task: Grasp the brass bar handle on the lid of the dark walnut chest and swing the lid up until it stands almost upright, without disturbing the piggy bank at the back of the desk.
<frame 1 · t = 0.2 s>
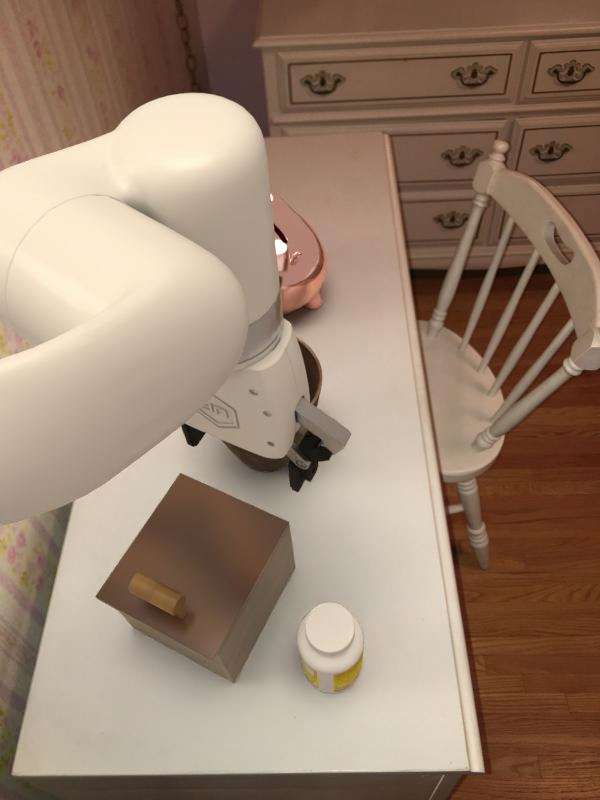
hand: (250, 454, 53), 29 cm above the table, tool pointing down, fingers open, 9 cm apart
flower pot: (269, 449, 87), on the table
chest: (215, 596, 76), on the table
chess piece: (167, 393, 94), on the table
supplement bottle: (331, 662, 71), on the table
lid: (191, 550, 64), point 15 cm above the table, hinge at 0.0°
piggy bank: (275, 295, 104), on the table
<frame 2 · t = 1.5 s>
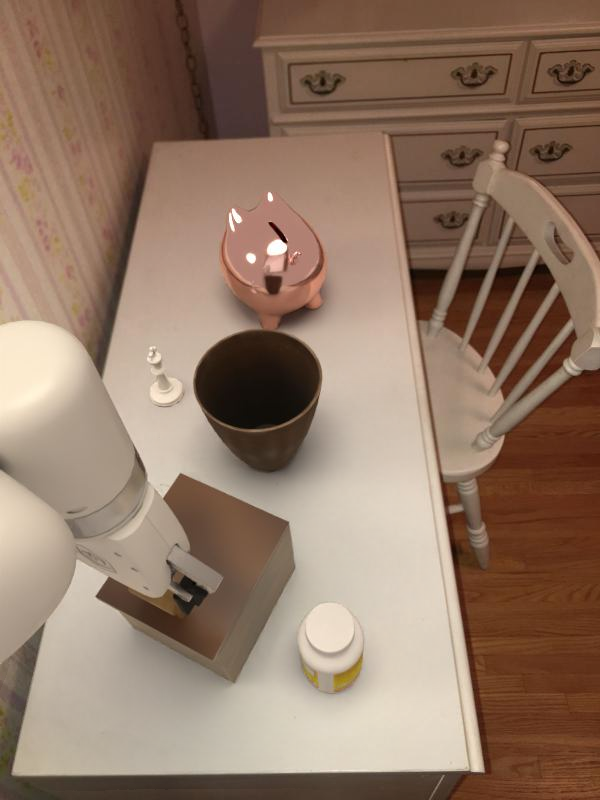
hand: (148, 573, 56), 21 cm above the table, tool pointing down, fingers open, 9 cm apart
nothing on the table moved.
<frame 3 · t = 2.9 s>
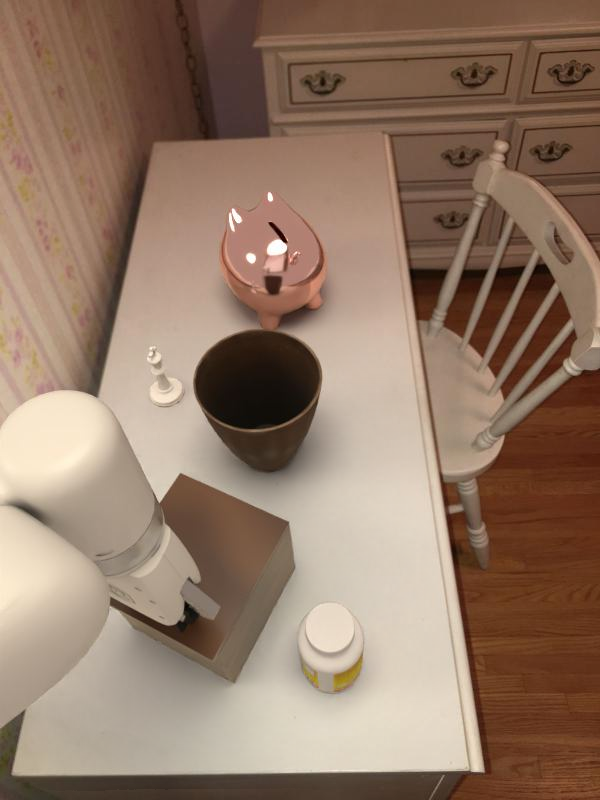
hand: (163, 602, 62), 14 cm above the table, tool pointing down, fingers closed on lid, 5 cm apart
lid: (191, 550, 64), point 15 cm above the table, hinge at 0.0°, touching gripper
everything else where it was.
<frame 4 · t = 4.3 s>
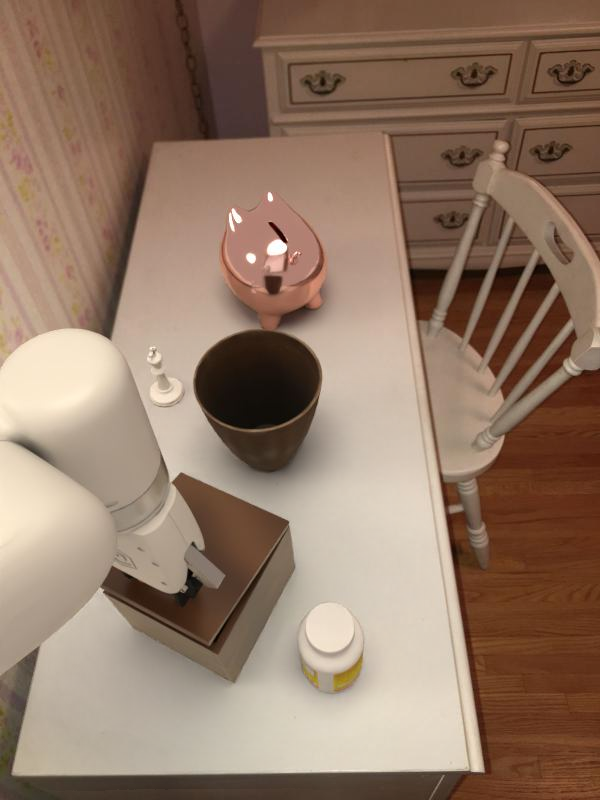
hand: (163, 577, 60), 17 cm above the table, tool pointing down, fingers closed on lid, 5 cm apart
lid: (192, 535, 62), point 16 cm above the table, hinge at 15.2°, touching gripper
everything else where it was.
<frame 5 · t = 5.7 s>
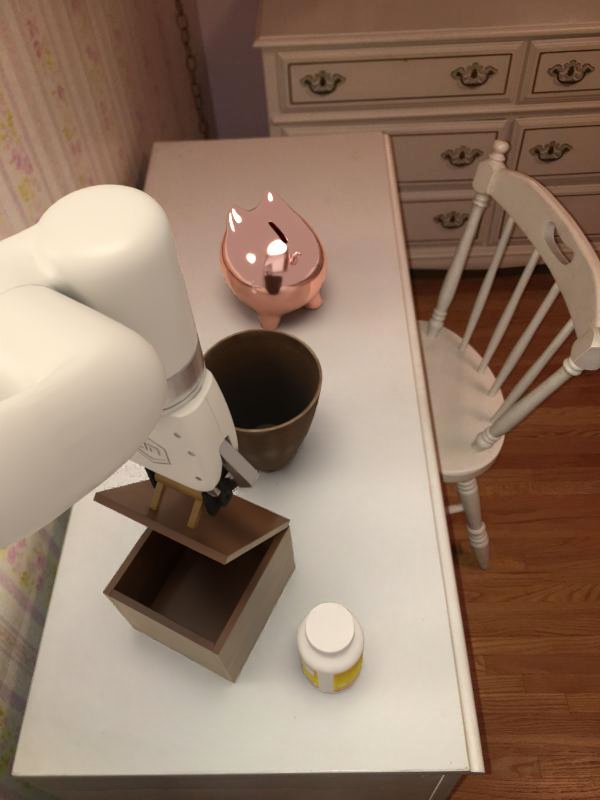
hand: (192, 488, 59), 22 cm above the table, tool pointing down, fingers closed on lid, 5 cm apart
lid: (207, 489, 62), point 20 cm above the table, hinge at 50.5°, touching gripper
everything else where it was.
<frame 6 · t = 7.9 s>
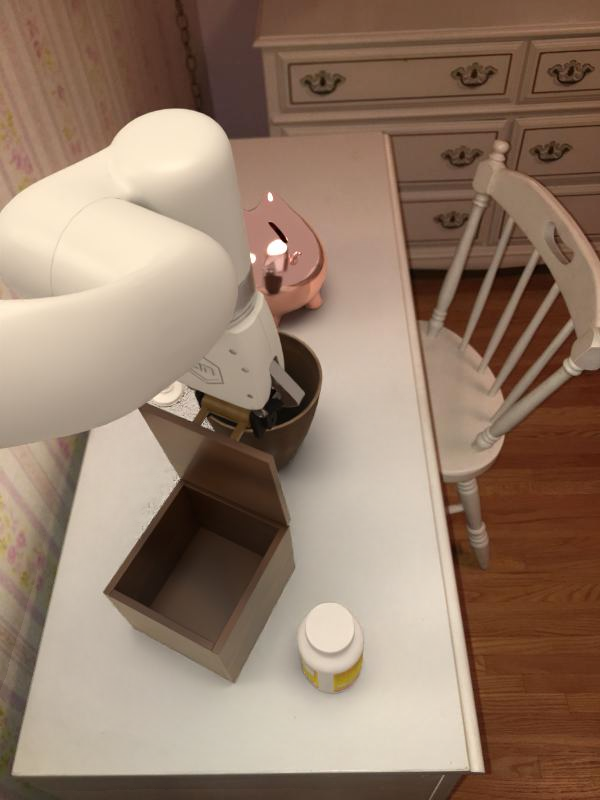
hand: (239, 414, 62), 23 cm above the table, tool pointing down, fingers closed on lid, 5 cm apart
lid: (231, 448, 64), point 20 cm above the table, hinge at 84.6°, touching gripper
everything else where it was.
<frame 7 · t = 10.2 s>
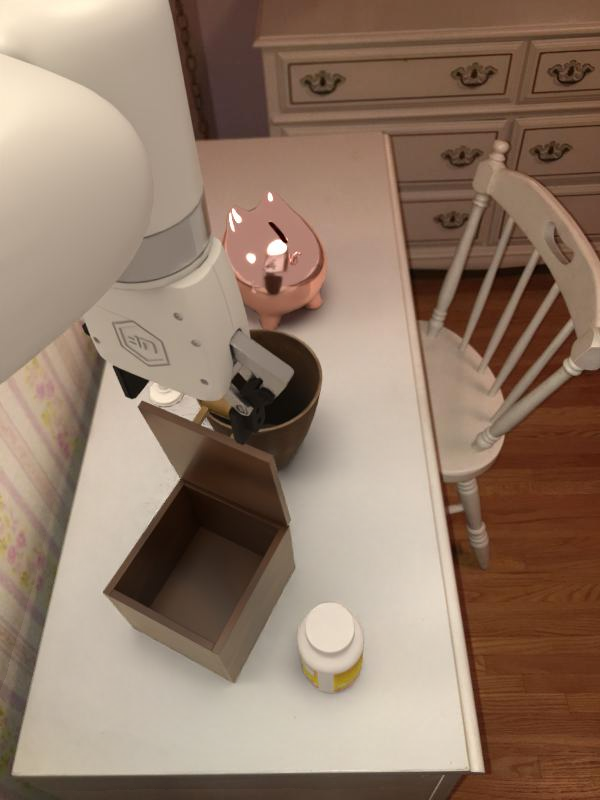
hand: (194, 406, 49), 35 cm above the table, tool pointing down, fingers open, 9 cm apart
lid: (231, 448, 64), point 20 cm above the table, hinge at 84.8°
everything else where it was.
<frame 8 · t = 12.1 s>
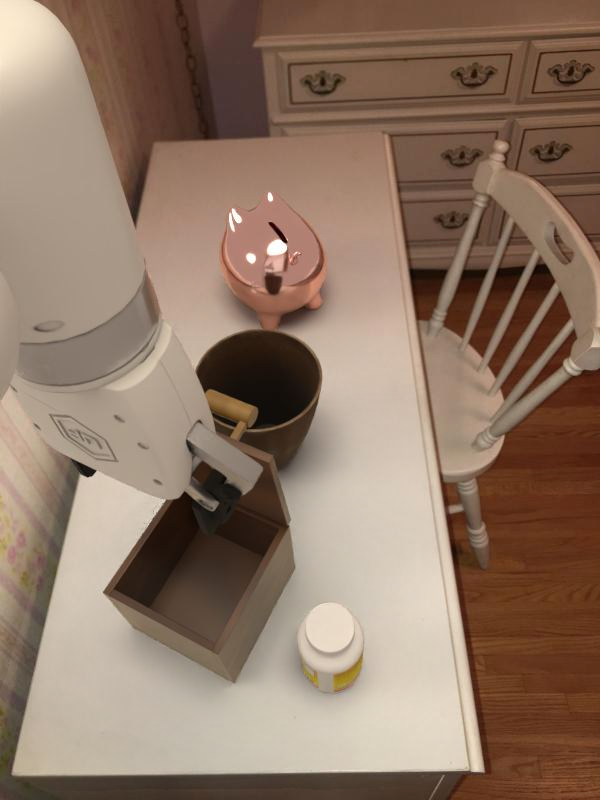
hand: (157, 486, 43), 36 cm above the table, tool pointing down, fingers open, 9 cm apart
nothing on the table moved.
at the end: lid at +85° (first picture: +0°); piggy bank moved 0.2 cm from its start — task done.
